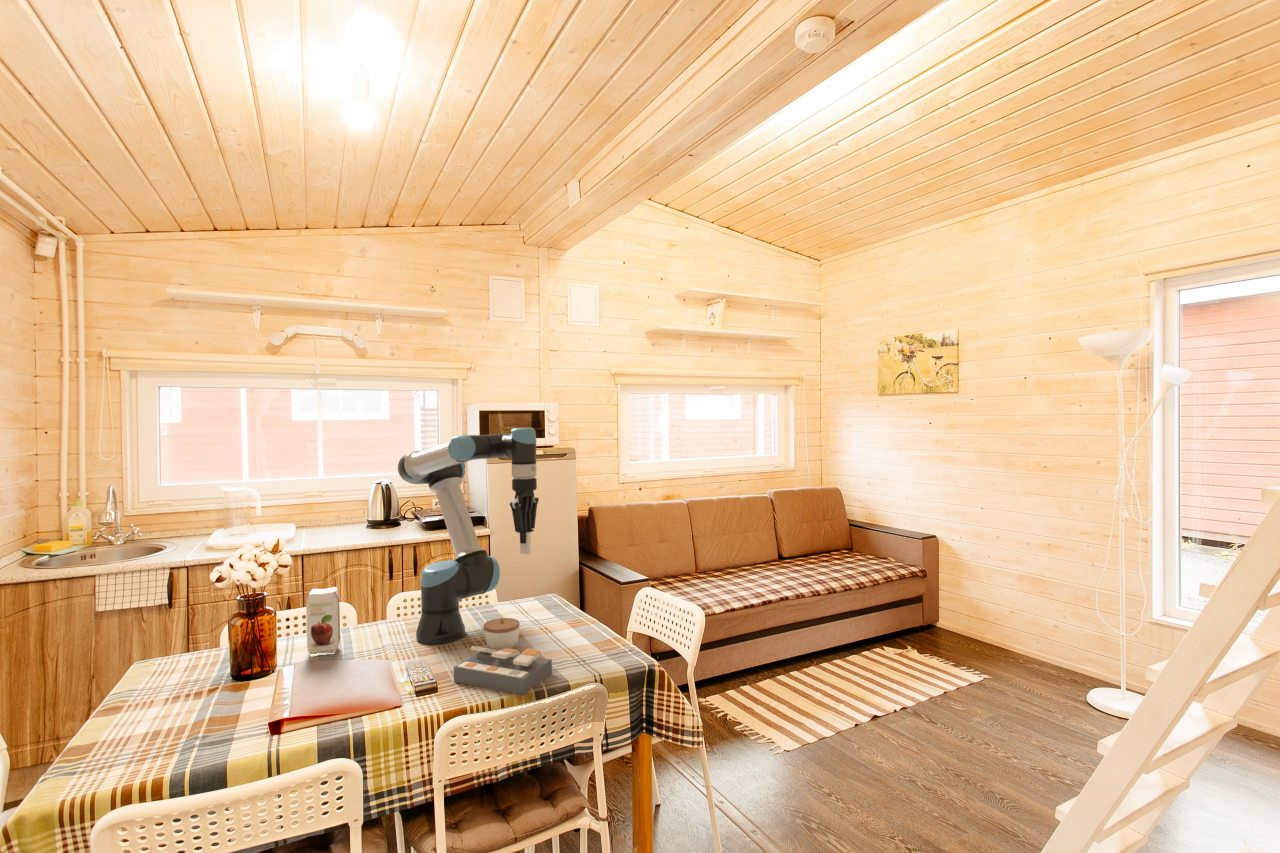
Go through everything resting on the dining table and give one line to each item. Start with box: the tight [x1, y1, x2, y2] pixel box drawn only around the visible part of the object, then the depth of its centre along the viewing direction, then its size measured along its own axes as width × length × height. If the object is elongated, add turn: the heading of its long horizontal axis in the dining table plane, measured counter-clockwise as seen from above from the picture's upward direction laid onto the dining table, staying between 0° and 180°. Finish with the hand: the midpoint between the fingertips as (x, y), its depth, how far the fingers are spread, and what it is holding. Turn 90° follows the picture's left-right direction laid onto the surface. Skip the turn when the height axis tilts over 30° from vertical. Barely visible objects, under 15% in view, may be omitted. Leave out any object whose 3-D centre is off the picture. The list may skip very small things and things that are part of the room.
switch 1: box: [470, 645, 498, 654], centre depth 175 cm, size 4×7×1 cm, turn 158°
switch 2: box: [491, 648, 520, 659], centre depth 172 cm, size 4×7×1 cm, turn 158°
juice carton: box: [305, 586, 341, 654], centre depth 191 cm, size 8×9×19 cm
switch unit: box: [453, 651, 553, 695], centre depth 171 cm, size 22×14×5 cm, turn 68°
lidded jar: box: [483, 617, 520, 651], centre depth 193 cm, size 11×11×9 cm
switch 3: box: [513, 647, 542, 666], centre depth 169 cm, size 4×7×1 cm, turn 158°
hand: (525, 553), depth 196 cm, fingers closed
